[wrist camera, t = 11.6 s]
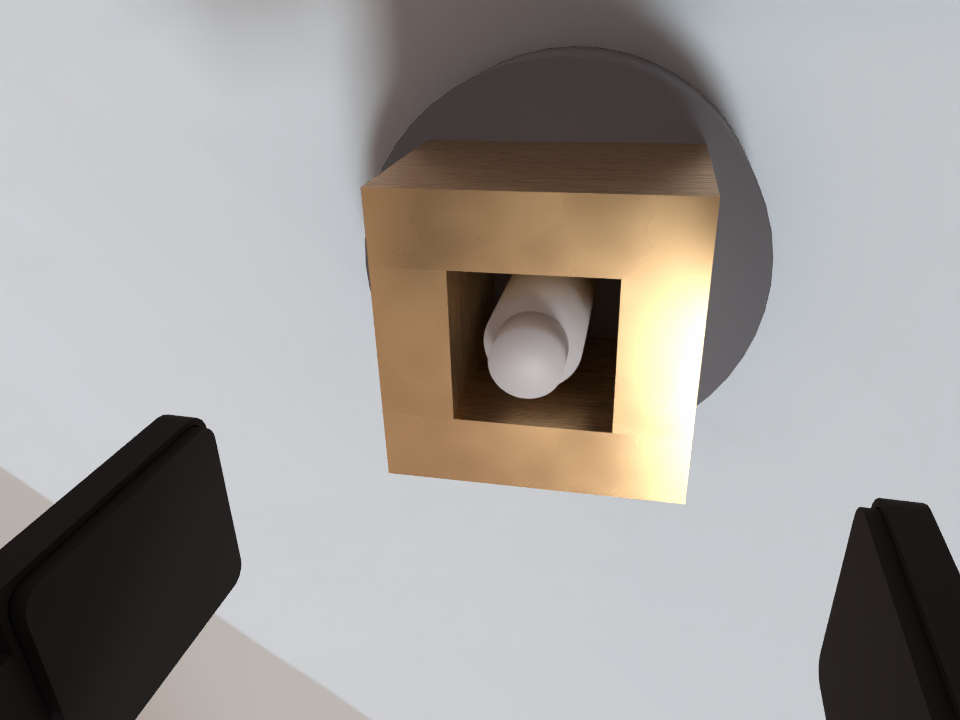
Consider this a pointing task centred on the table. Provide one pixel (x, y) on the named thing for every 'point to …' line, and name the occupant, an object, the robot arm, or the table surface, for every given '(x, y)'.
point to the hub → (604, 118)
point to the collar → (552, 252)
